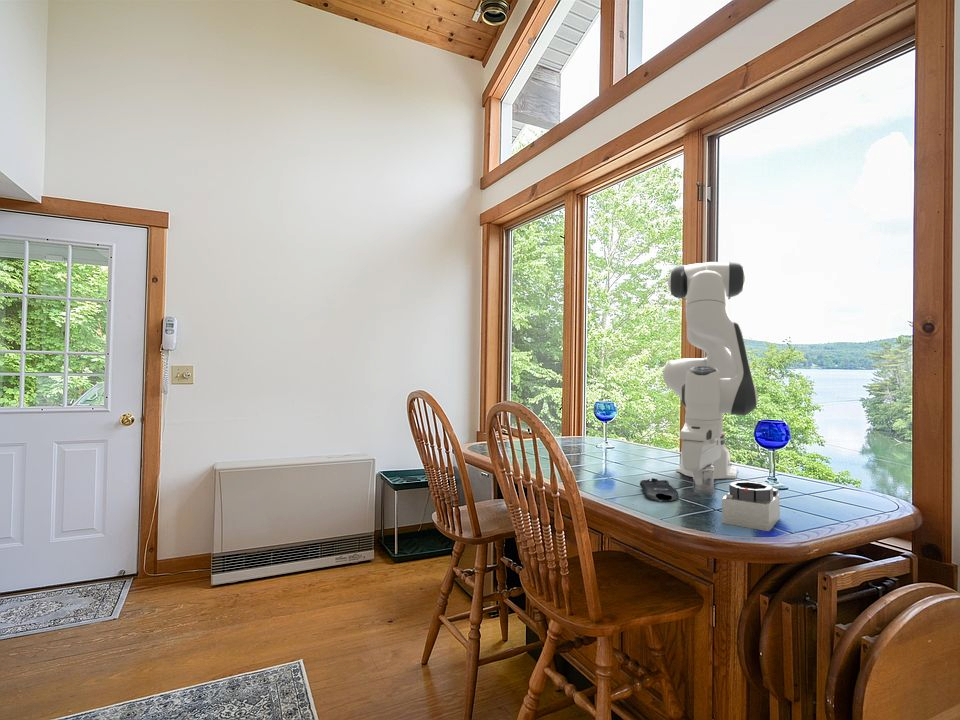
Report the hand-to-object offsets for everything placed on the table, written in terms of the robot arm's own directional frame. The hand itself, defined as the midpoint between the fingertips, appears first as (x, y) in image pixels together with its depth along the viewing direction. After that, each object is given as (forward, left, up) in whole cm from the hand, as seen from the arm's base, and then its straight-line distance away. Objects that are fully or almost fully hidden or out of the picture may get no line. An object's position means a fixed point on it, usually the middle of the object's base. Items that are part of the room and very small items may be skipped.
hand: (703, 481), depth 140 cm
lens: (0, 0, -3) cm, 3 cm away
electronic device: (-6, -14, -8) cm, 17 cm away
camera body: (+5, +12, -7) cm, 15 cm away
